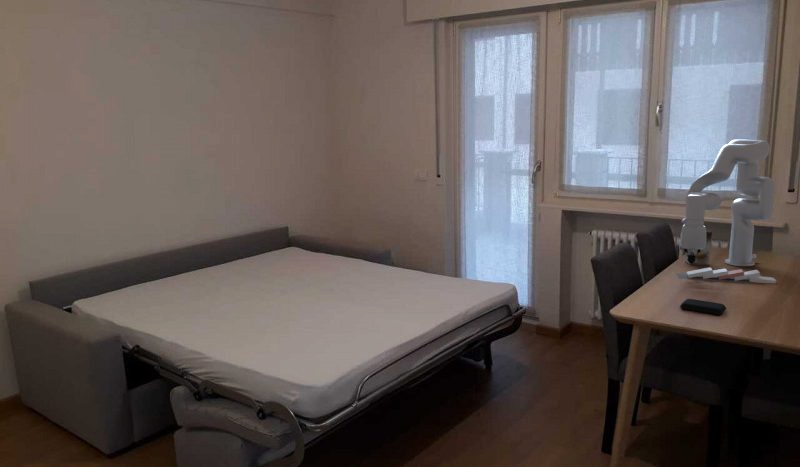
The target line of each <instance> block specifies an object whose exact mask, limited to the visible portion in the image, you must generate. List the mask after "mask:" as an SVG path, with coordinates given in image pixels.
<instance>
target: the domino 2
mask: <svg viewBox="0 0 800 467" xmlns="http://www.w3.org/2000/svg"><path fill="white" fill-rule="evenodd" d="M712 270H713V274H708V275H703V276H702V277H703V279H706V278H712V277H718V276H723V275H728V271H729V270H727V268H720V269H712Z"/></svg>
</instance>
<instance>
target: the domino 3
mask: <svg viewBox="0 0 800 467" xmlns="http://www.w3.org/2000/svg"><path fill="white" fill-rule="evenodd" d="M743 272H744V276H738V277H733V279H734V280H735V281H737V280H742V279H747V278H753V277H758V276H761V273H760V271H759V270H758V269H754V270H748V271H743Z"/></svg>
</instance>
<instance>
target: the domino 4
mask: <svg viewBox="0 0 800 467" xmlns="http://www.w3.org/2000/svg"><path fill="white" fill-rule="evenodd" d="M747 279H748V280H749V282H755V283H758V284H759V283H762V284H777V280H776V279H775V278H774V277H771V276H769V277H768V276H761V275H760V276H758V277H753V278H747Z"/></svg>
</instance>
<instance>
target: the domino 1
mask: <svg viewBox="0 0 800 467" xmlns="http://www.w3.org/2000/svg"><path fill="white" fill-rule="evenodd" d="M713 270H714V269H712V267H711V266H710V267H704V268H700V269H694V270H689V271H686V274H687V276H688V278H692V277H697V276H703V275H708V274H713Z"/></svg>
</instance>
